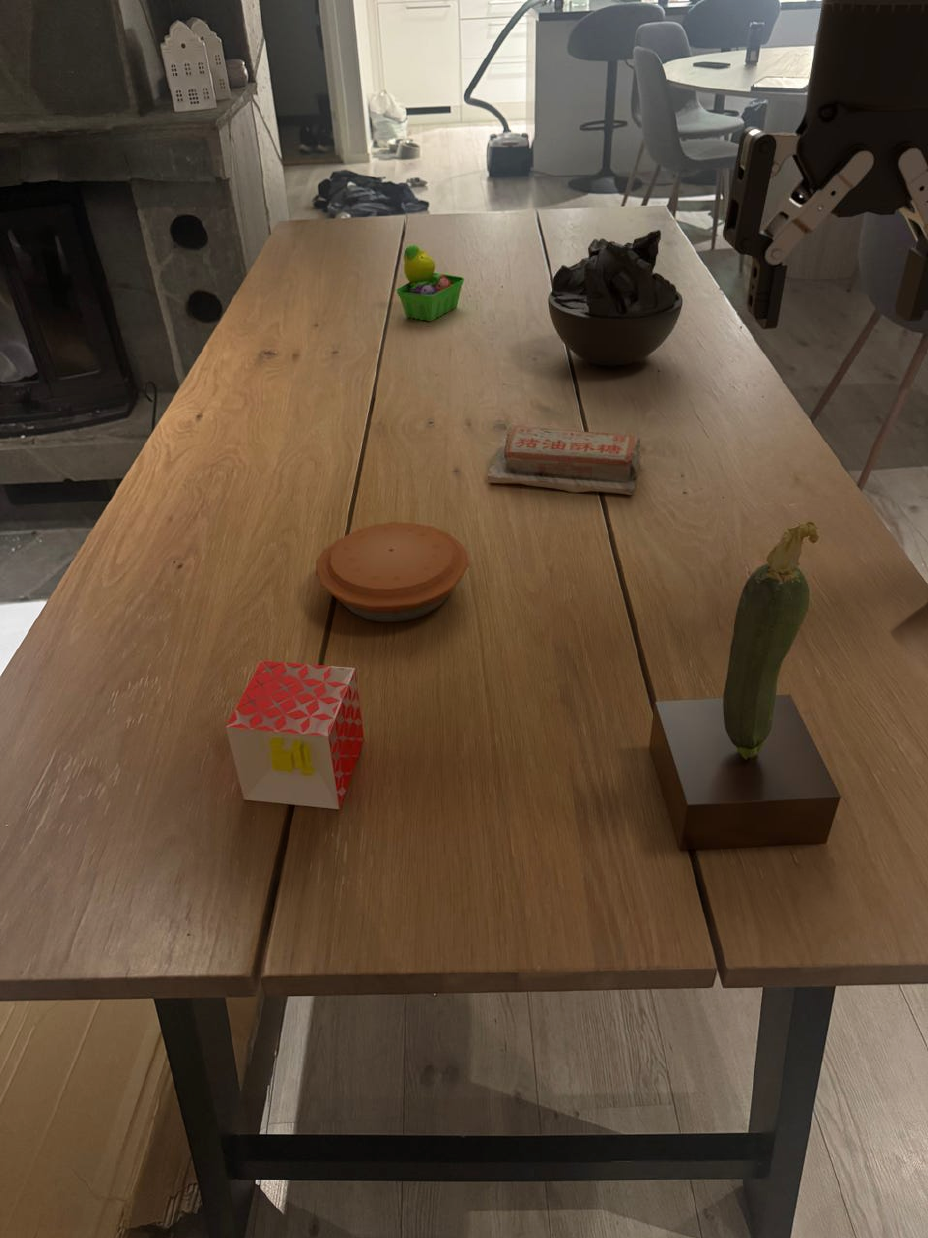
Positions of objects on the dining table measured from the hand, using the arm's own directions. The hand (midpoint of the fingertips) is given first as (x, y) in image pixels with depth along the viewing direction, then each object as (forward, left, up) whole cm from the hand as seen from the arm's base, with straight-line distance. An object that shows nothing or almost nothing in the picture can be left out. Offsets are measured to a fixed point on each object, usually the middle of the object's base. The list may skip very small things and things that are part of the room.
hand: (836, 320), depth 55 cm
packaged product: (+8, -50, -36) cm, 62 cm away
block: (+2, +4, -36) cm, 36 cm away
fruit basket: (+24, -113, -36) cm, 121 cm away
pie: (+29, -26, -36) cm, 53 cm away
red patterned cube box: (+36, -1, -36) cm, 51 cm away
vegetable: (+2, +4, -31) cm, 31 cm away
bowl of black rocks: (-4, -86, -36) cm, 93 cm away
